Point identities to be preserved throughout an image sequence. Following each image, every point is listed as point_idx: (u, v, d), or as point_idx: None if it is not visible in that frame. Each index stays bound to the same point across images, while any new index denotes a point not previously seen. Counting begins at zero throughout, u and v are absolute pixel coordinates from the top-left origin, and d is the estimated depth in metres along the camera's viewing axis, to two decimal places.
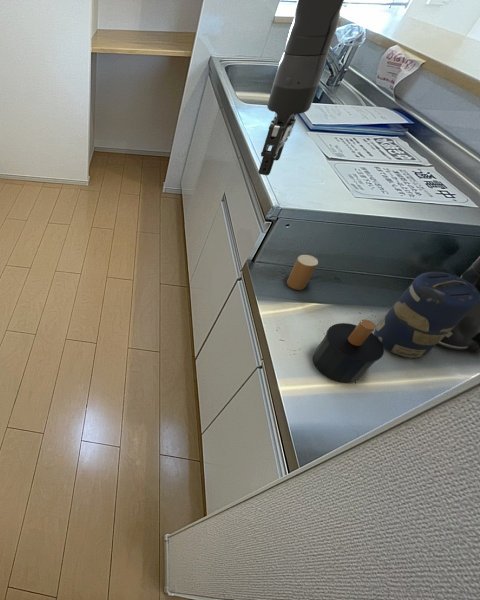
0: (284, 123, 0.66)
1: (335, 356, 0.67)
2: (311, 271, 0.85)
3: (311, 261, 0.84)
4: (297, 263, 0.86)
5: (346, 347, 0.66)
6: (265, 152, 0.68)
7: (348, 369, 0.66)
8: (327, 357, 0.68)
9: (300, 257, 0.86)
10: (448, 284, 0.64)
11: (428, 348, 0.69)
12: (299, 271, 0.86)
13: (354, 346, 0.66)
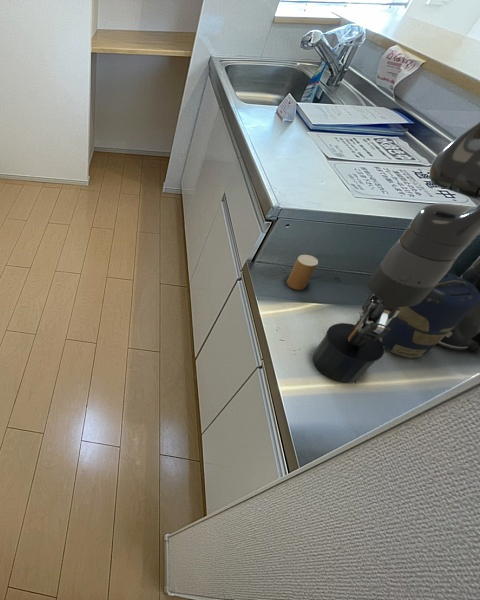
0: (391, 316, 0.56)
1: (335, 356, 0.67)
2: (311, 271, 0.85)
3: (311, 261, 0.84)
4: (297, 263, 0.86)
5: (346, 347, 0.66)
6: (364, 334, 0.61)
7: (348, 369, 0.66)
8: (327, 357, 0.68)
9: (300, 257, 0.86)
10: (448, 284, 0.64)
11: (428, 348, 0.69)
12: (299, 271, 0.86)
13: (354, 346, 0.66)
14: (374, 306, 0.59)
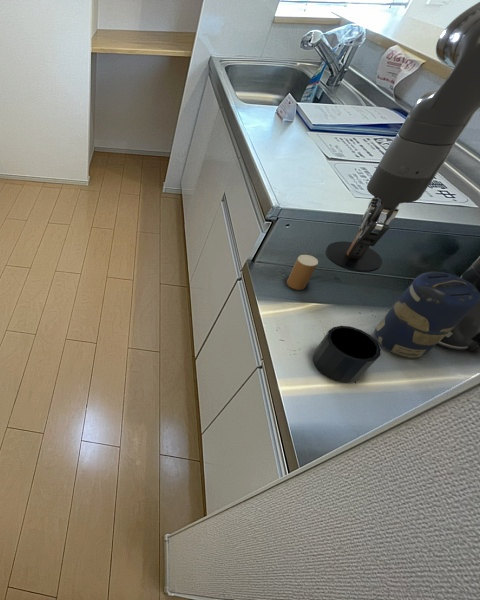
0: (389, 215, 0.57)
1: (335, 356, 0.67)
2: (311, 271, 0.85)
3: (311, 261, 0.84)
4: (297, 263, 0.86)
5: (345, 260, 0.67)
6: (363, 239, 0.61)
7: (348, 369, 0.66)
8: (327, 357, 0.68)
9: (300, 257, 0.86)
10: (448, 284, 0.64)
11: (428, 348, 0.69)
12: (299, 271, 0.86)
13: (353, 259, 0.67)
14: (373, 209, 0.60)
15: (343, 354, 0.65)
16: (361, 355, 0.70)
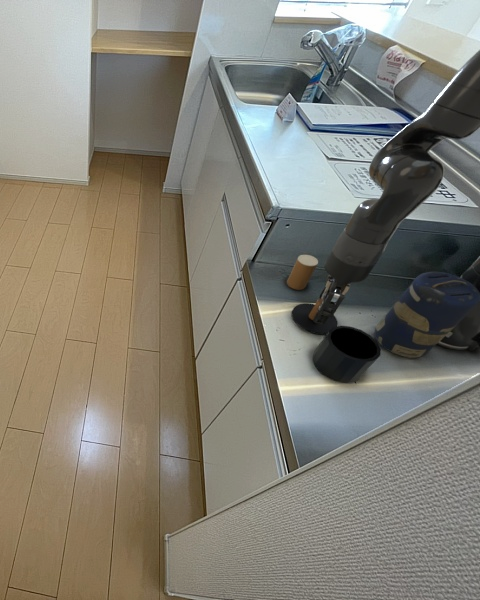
0: (343, 289, 0.69)
1: (335, 356, 0.67)
2: (311, 271, 0.85)
3: (311, 261, 0.84)
4: (297, 263, 0.86)
5: (307, 322, 0.80)
6: (323, 312, 0.71)
7: (348, 369, 0.66)
8: (327, 357, 0.68)
9: (300, 257, 0.86)
10: (448, 284, 0.64)
11: (428, 348, 0.69)
12: (299, 271, 0.86)
13: None
14: (329, 284, 0.72)
15: (343, 354, 0.65)
16: (361, 355, 0.70)
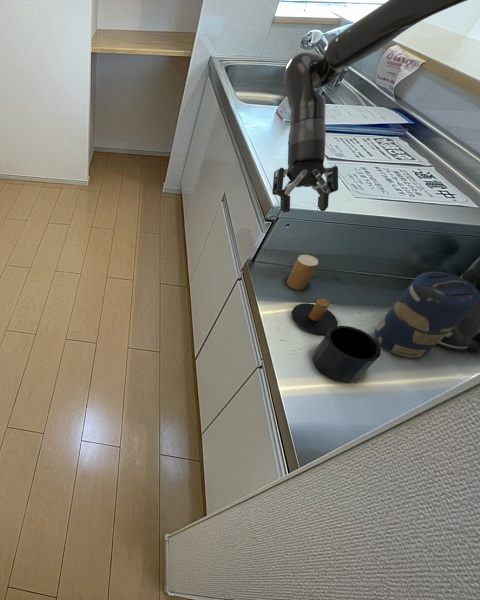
0: (290, 169, 0.83)
1: (335, 356, 0.67)
2: (311, 271, 0.85)
3: (311, 261, 0.84)
4: (297, 263, 0.86)
5: (307, 322, 0.80)
6: (274, 190, 0.85)
7: (348, 369, 0.66)
8: (327, 357, 0.68)
9: (300, 257, 0.86)
10: (448, 284, 0.64)
11: (428, 348, 0.69)
12: (299, 271, 0.86)
13: (313, 321, 0.80)
14: None
15: (343, 354, 0.65)
16: (361, 355, 0.70)
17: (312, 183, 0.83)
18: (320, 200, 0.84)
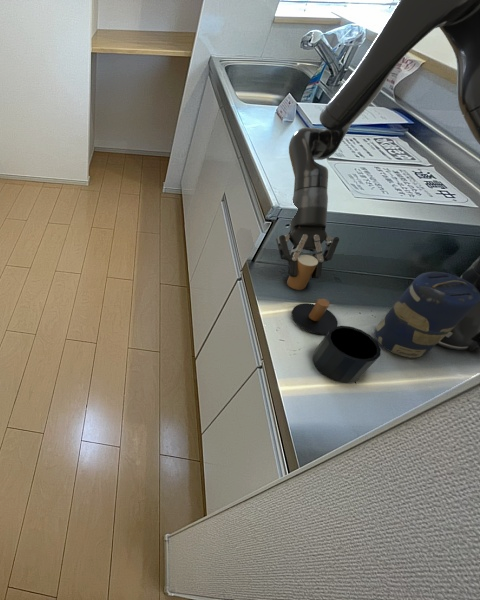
0: (290, 233, 0.86)
1: (335, 356, 0.67)
2: (311, 271, 0.85)
3: (311, 261, 0.84)
4: None
5: (307, 322, 0.80)
6: (282, 255, 0.88)
7: (348, 369, 0.66)
8: (327, 357, 0.68)
9: (300, 257, 0.86)
10: (448, 284, 0.64)
11: (428, 348, 0.69)
12: (299, 271, 0.86)
13: (313, 321, 0.80)
14: None
15: (343, 354, 0.65)
16: (361, 355, 0.70)
17: (313, 247, 0.85)
18: None
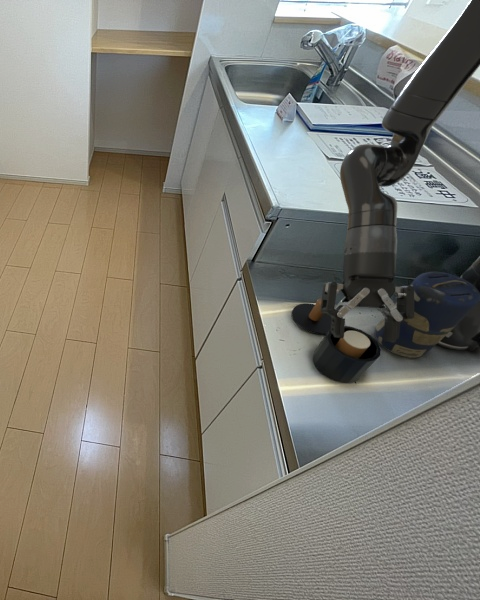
0: (346, 284, 0.64)
1: (335, 356, 0.67)
2: (361, 353, 0.66)
3: (361, 341, 0.66)
4: (342, 342, 0.67)
5: (307, 322, 0.80)
6: (323, 308, 0.66)
7: (348, 369, 0.66)
8: (327, 357, 0.68)
9: (346, 334, 0.67)
10: (448, 284, 0.64)
11: (428, 348, 0.69)
12: (345, 352, 0.67)
13: (313, 321, 0.80)
14: None
15: (343, 354, 0.65)
16: (361, 355, 0.70)
17: (376, 305, 0.63)
18: (388, 326, 0.64)
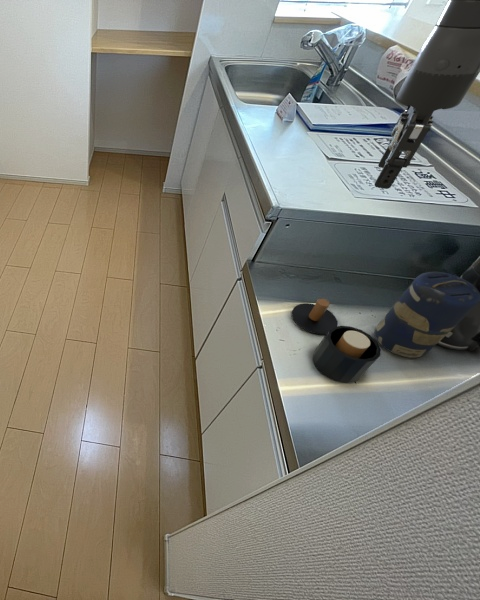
0: (426, 121, 0.50)
1: (335, 356, 0.67)
2: (361, 353, 0.66)
3: (361, 341, 0.66)
4: (342, 342, 0.67)
5: (307, 322, 0.80)
6: (395, 159, 0.52)
7: (348, 369, 0.66)
8: (327, 357, 0.68)
9: (346, 334, 0.67)
10: (448, 284, 0.64)
11: (428, 348, 0.69)
12: (345, 352, 0.67)
13: (313, 321, 0.80)
14: (403, 123, 0.53)
15: (343, 354, 0.65)
16: (361, 355, 0.70)
17: None
18: None
